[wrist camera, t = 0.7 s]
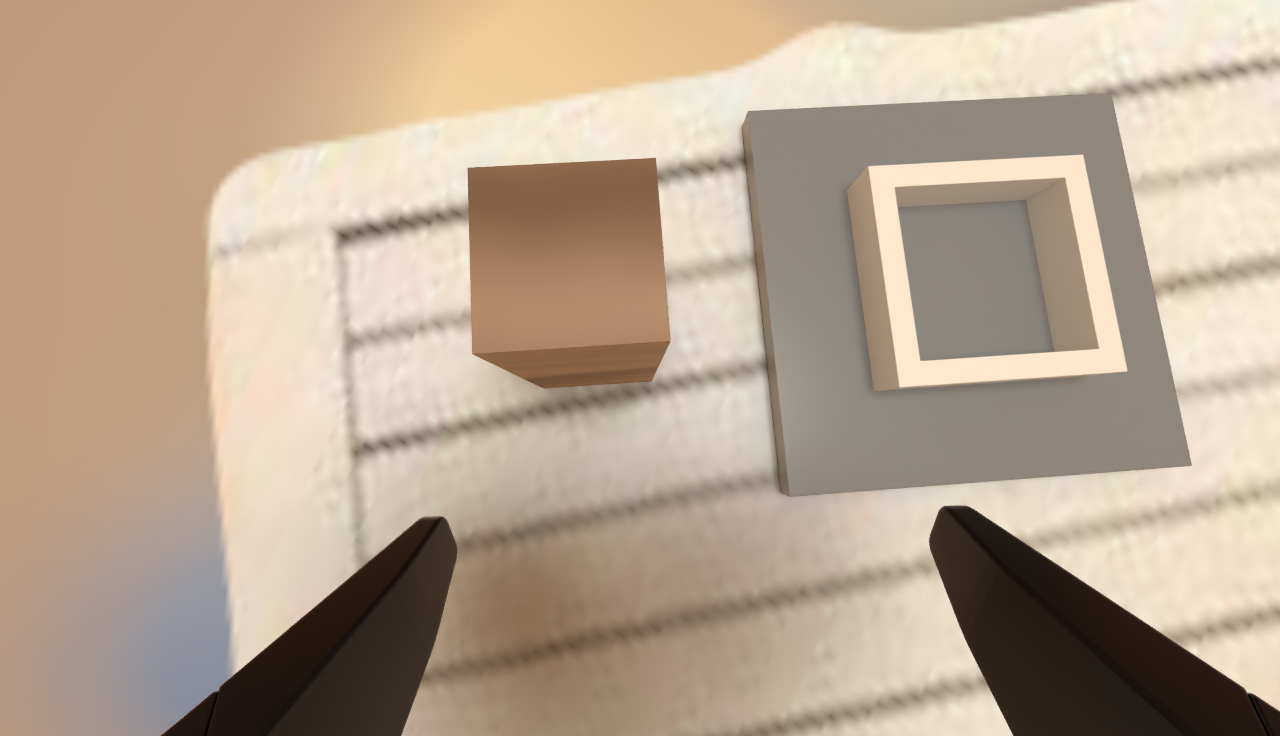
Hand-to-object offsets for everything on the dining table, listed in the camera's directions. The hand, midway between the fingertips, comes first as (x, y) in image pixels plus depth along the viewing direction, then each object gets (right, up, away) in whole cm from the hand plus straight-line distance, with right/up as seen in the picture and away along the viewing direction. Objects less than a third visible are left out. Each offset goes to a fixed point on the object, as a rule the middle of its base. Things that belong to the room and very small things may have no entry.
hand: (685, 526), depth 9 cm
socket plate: (+14, +7, +14) cm, 21 cm away
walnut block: (-3, +5, +13) cm, 14 cm away
